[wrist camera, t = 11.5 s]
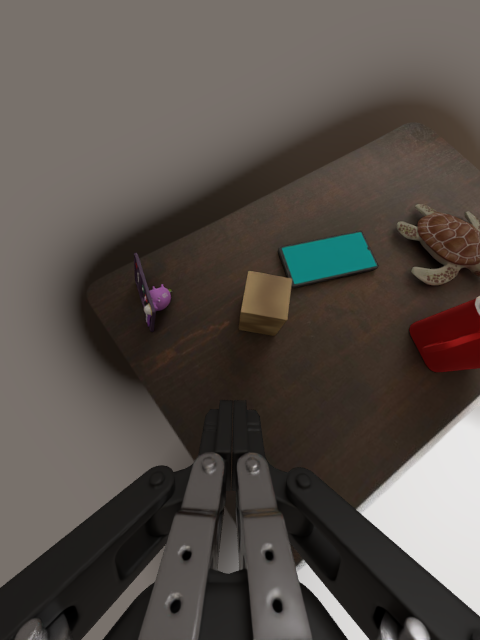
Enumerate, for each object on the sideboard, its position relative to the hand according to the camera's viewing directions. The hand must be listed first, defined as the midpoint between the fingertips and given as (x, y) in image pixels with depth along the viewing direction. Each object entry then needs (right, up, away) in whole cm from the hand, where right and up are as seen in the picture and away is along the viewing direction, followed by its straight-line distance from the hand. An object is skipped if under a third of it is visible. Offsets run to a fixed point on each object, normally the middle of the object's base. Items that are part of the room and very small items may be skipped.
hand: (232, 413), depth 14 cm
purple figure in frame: (-12, +8, +23) cm, 27 cm away
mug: (+29, +1, +23) cm, 37 cm away
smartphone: (+15, +15, +26) cm, 34 cm away
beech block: (+3, +6, +23) cm, 24 cm away
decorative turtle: (+35, +17, +28) cm, 48 cm away
